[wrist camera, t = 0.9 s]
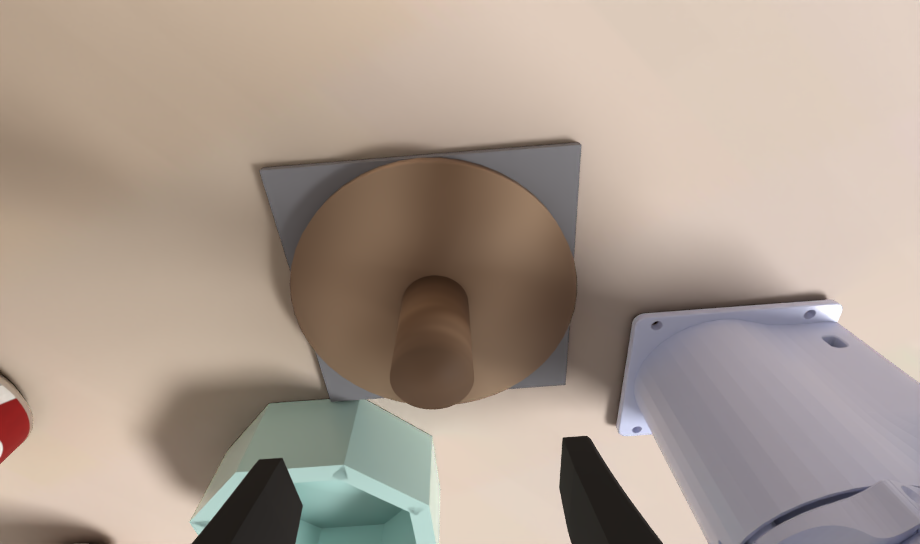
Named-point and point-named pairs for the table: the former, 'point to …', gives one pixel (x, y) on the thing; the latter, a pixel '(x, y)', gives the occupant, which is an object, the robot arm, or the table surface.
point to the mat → (533, 167)
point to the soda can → (12, 418)
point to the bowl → (340, 472)
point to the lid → (433, 282)
